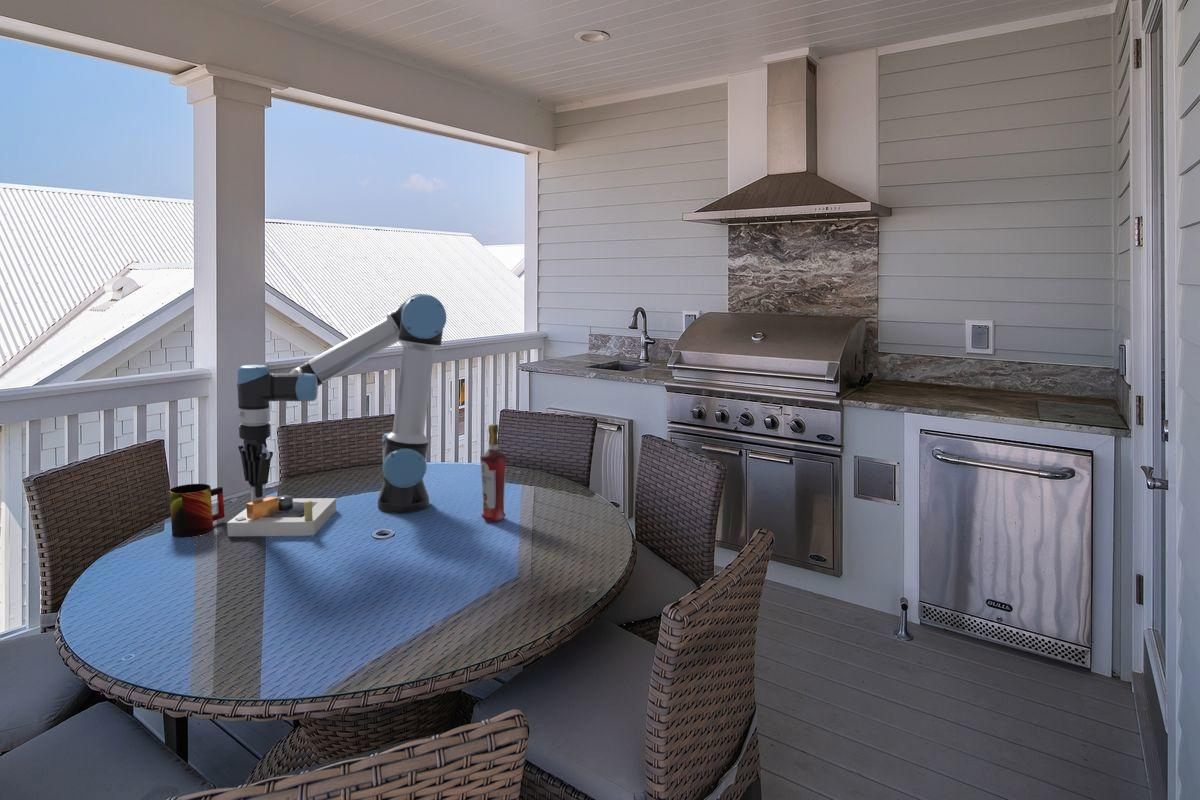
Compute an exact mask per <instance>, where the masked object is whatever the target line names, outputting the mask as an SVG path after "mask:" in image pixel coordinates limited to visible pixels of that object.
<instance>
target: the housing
mask: <svg viewBox="0 0 1200 800" xmlns="http://www.w3.org/2000/svg"><path fill="white" fill-rule="evenodd" d="M293 502H302V503H304V516H303V517H283V518H261V517H260V518H256V519H249V518H247V507H246V508H244V510H243V509H242V511H241V512H239V513H238V514H237V515H236V516H234V517H233V518H232V519H230V520H229V521H227V522H226V524H227V525H226V526H227V527H226V528H227V537H291V536H292V537H299V536H300V537H301V536H302V537H303V536H304V537H305V536H306V537H307V536H308V537H309V536H311V535H312V536H315V535H316V534H317V533H318V532H319V531H320V529H321V528H322V527H323V526H324V525H326V522H328V520H329V519H330V518H331V517H332V516H333V515H334V514H335V513H336V512H337V498H336V497H335V498H333V497H331V498H327V497H325V498H322V497H319V498H318V497H317V498H315V497H314V498H313V497H311V498H309V497H307V498H294V497H293Z"/></svg>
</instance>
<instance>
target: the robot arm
mask: <svg viewBox="0 0 1200 800" xmlns="http://www.w3.org/2000/svg"><path fill="white" fill-rule="evenodd" d="M446 323H447V311H446V309H445V307H444V305H443V304H442V302H441V300H439V299H438V298H437V297H435V296H433V295H430V294H427V293H418V294H414V295H412V296H410V297H408V298H407V299H406V300H405V301H404V302H403V303H400V305H398V306H397V307H396V308H394V309H392V310H390V311H389V312H387V314H386V317H385V318H383V319H381V320H380V321H378V322H375V324H372V325H371V326H368V327H367V328H365V329H364V330H362V331H359V332H358V333H356V334H355V335H353V336H350V337H349V338H348V339H346V340H344V341H342V342H340V343H338V344H336V345H335V346H332V347H331V348H330V349H328V350H325V351H324V352H321V354H318V355H317V356H315V357H313V358H311V359H310V360H308V361H306V362H304V363H302V364H301V365H298V366H295V367H294V368H292V369H290V370H289V371H288V372H287V373H286V372H285V373H284V372H283V373H282V372H281V373H277V372H276V373H275V372H274V373H273V372H270V370H269V366H267V365H263V364H244V365H241V366H239V367H238V369H237V383H236V385H237V387H236V388H237V401H238V402H237V403H238V413H237V416H238V422H239V423H240V424H239V425H238V435H239V438H240V439H241V440H243V444H242V445H238V451H239V453H240V457H241V463H242V470H243V476H244V481H246V482H248V484H249V485H250V502H254V501H257V500H261V499H264V497H263V495H264V494H263V493H264V492H263V490H264V489H263V485H266V484H268V483H269V475H270V470H271V469H270V468H271V463H272V462H271V461H272V458H273V455H274V453H273V451H269V450H268V448H267V447H268V444H267V439H268V438H269V437H271V424H270V421H271V413H270V412H271V411H270V410H271V407H270V402H301V403H305V402H314V401H316V400H317V398H318V393H319V392H318V387H319V386H321V385H322V384H324V383H327V382H328V381H330V380H332V379H334V378H335V377H337V376H339V375H341V374H342V373H344V372H346V371H348V370H350V369H351V368H353V367H355V366H357V365H358V364H361V363H362V362H364V361H365V360H367V359H369V358H372V357H373V356H375V355H376V354H378V353H380V352H382V351H384V350H385V349H387V348H390V347H391V346H392V345H394V344H396V343H400V344H401V346H402V352H401V353H402V354H401V359H400V360H401V361H400V370H399V379H398V384H397V394H396V400H395V409H394V417H393V425H392V431H391V432H386V433H383V434H382V440H381V445H382V465H381V471H382V478H383V479H382V480H383V481H382V486H381V489H380V493H379V496H378V500H377V508H378V510H380V511H382V512H384V513H388V514H389V513H391V514H407V513H408V514H409V513H413V512H420V511H422V510H425V509H427V508H428V507H430V496H429V493H428V491H427V488H426V486H425V483H424V482H425V481H424V477H425V475H426V473H427V467H428V466H427V465H428V464H427V453H428V447H429V445H428V444H429V438H427V437H426V435H425V426H426V419H427V411H428V404H429V403H428V402H429V395H430V389H431V388H430V387H431V381H432V380H431V379H432V372H433V365H434V360H435V359H434V358H435V357H434V356H435V351H436V350H437V349H439V348H440V347H441V346H442V338H443V332H444V329H445V326H446Z"/></svg>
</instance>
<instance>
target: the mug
mask: <svg viewBox="0 0 1200 800" xmlns="http://www.w3.org/2000/svg"><path fill="white" fill-rule="evenodd" d="M211 487H212V486H211V485H210V484H205V483H188V484H183V485H177V486H174V487H172V488H170V489H168V494H169V495H168V496H169V507H170V508H169V509H170V520H171V534H172V536H173V537H176V538H179V539H181V538H183V539H188V538H189V537H190V538H195V537H196V536H197V537H200V535H202V536H205V535H207V533H208V534H210V533H212V532H213V531H214V523H213V522H215V521H218V520H221V519H224V518H226V517H225V504H224V492H223V486H218V487H216V488H211ZM216 495H217V505H218V512H217V513H214V514H213V506H212V505H213V503H212V502H213V501H212V497H214V496H216ZM212 530H213V531H212ZM211 531H212V532H211ZM209 532H210V533H209ZM204 534H205V535H204Z"/></svg>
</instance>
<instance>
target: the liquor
mask: <svg viewBox="0 0 1200 800" xmlns="http://www.w3.org/2000/svg"><path fill="white" fill-rule="evenodd" d="M498 434H499V425H498V424H496V423H492V424H491V423H490V424H488V436H489V437H488V447H487V449H488V450H487V451H486V452H484V453H483V454H482V455H481V456H480V473H481V474H480V475H481V476H480V477H481V490H482V492H481V493H482V511H483V512H482V514H481V518H483V520H485V521H486V522H487V521H488V523H500V522H501V521H502V520H503V519H504V518H505V517H506V513H505V487H506V486H505V485H506V474H507V471H506V469H507V455H506V454H504V452H502V451H499V441H498Z"/></svg>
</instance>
